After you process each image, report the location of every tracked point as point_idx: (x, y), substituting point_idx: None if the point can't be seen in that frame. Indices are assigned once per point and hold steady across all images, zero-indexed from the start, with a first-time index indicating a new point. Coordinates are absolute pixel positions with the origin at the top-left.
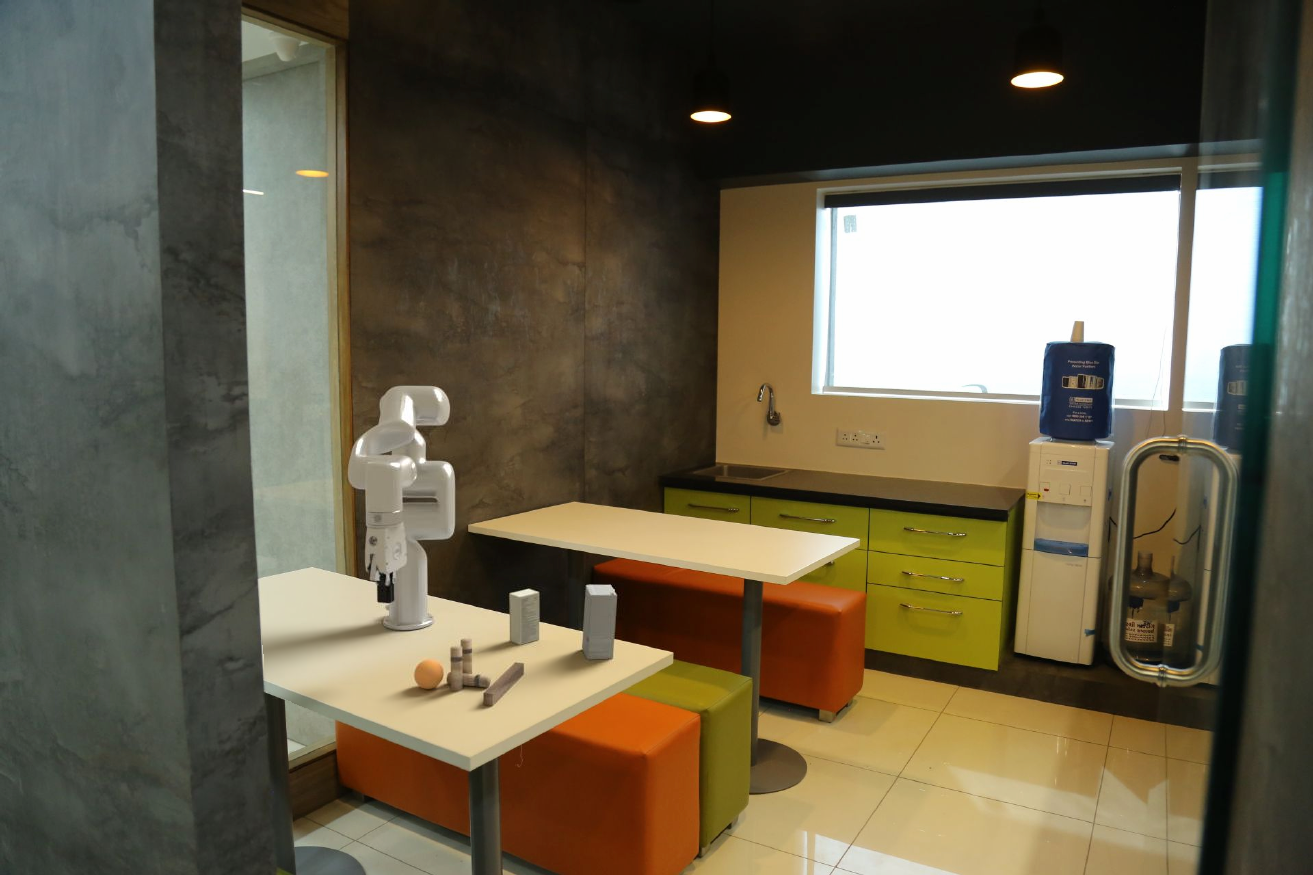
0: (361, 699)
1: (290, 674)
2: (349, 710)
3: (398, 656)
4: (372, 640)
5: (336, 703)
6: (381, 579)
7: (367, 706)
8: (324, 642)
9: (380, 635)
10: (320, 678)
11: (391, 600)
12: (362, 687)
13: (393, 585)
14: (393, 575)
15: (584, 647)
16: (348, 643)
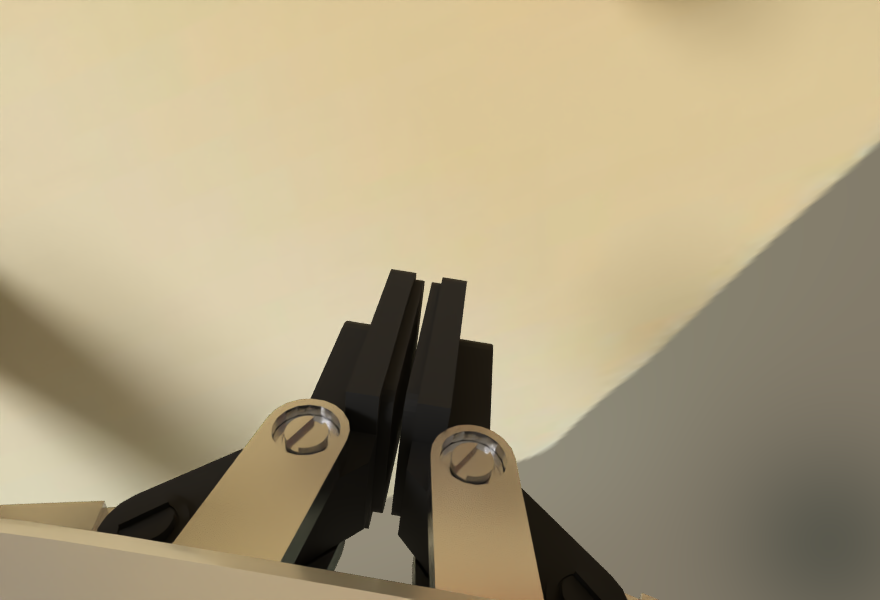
0: (729, 148)
1: None
2: (854, 154)
3: (223, 167)
4: (109, 317)
5: (758, 230)
6: (617, 588)
7: (824, 91)
8: (191, 438)
9: (51, 308)
10: (498, 358)
11: (455, 286)
12: (588, 191)
13: (372, 378)
14: (298, 495)
15: None
16: (169, 377)
